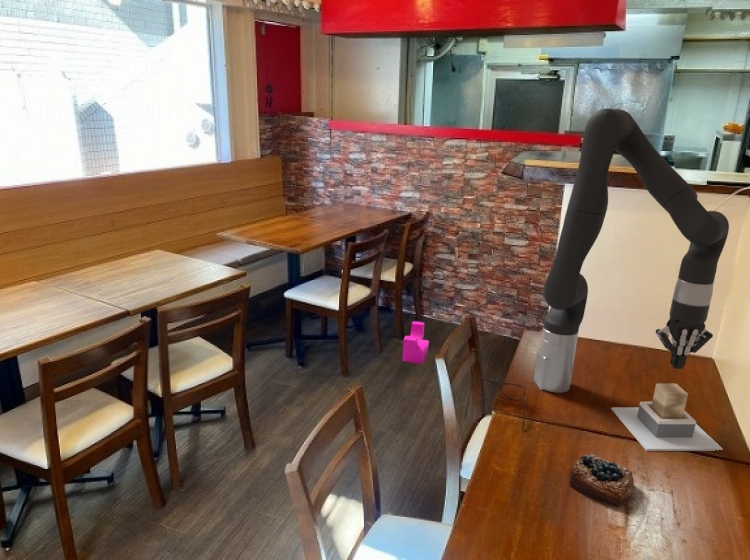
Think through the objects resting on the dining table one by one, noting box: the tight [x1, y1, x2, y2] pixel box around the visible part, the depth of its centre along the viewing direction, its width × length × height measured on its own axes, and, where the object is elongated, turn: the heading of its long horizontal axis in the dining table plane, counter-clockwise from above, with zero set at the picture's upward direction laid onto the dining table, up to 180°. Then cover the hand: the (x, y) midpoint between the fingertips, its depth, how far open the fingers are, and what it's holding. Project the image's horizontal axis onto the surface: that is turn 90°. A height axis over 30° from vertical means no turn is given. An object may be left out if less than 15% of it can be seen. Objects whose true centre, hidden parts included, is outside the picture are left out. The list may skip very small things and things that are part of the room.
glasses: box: [464, 378, 526, 431], centre depth 140 cm, size 14×15×5 cm
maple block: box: [651, 383, 689, 419], centre depth 132 cm, size 5×5×7 cm
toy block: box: [402, 320, 430, 365], centre depth 172 cm, size 15×6×8 cm, turn 165°
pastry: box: [569, 453, 635, 508], centre depth 113 cm, size 11×12×6 cm
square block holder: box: [611, 401, 724, 452], centre depth 134 cm, size 18×18×5 cm
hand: (676, 367), depth 129 cm, fingers closed
